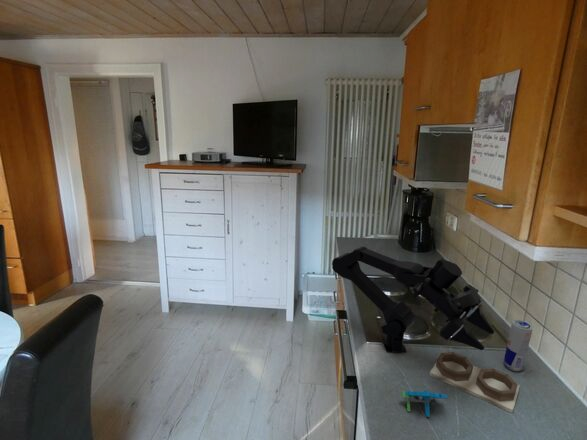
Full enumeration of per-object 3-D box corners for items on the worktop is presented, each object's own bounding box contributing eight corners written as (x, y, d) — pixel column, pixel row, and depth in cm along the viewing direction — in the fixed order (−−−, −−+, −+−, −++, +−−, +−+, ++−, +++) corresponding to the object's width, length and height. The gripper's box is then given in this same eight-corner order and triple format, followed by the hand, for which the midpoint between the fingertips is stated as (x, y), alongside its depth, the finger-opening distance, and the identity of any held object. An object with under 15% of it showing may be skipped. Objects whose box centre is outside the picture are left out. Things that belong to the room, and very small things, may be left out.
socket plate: (429, 374, 101) (430, 365, 100) (441, 355, 109) (443, 346, 108) (512, 413, 88) (514, 402, 87) (519, 388, 96) (521, 377, 95)
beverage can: (513, 360, 107) (523, 318, 103) (526, 371, 102) (537, 328, 98) (499, 362, 106) (508, 319, 102) (511, 373, 102) (521, 330, 97)
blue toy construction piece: (445, 393, 93) (448, 391, 84) (447, 418, 90) (451, 419, 81) (401, 389, 96) (400, 387, 87) (403, 413, 93) (402, 413, 85)
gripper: (443, 292, 88) (499, 340, 81) (468, 269, 101) (518, 308, 94) (419, 318, 94) (469, 364, 87) (445, 293, 107) (490, 331, 100)
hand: (488, 340), depth 92 cm, fingers open, 9 cm apart
